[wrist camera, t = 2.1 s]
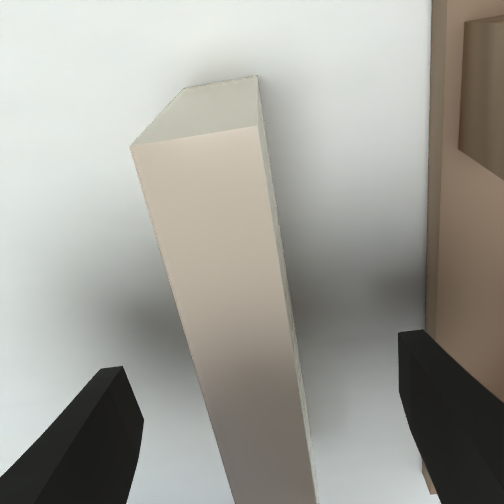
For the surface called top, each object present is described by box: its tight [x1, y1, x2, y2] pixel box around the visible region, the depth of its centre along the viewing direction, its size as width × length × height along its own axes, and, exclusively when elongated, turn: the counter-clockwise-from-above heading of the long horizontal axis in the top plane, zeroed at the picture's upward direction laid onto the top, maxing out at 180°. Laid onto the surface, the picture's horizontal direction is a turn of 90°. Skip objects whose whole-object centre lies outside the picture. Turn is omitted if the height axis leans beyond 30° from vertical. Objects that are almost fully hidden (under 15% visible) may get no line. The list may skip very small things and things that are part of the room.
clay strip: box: [130, 76, 320, 504], centre depth 13 cm, size 2×14×6 cm, turn 9°
